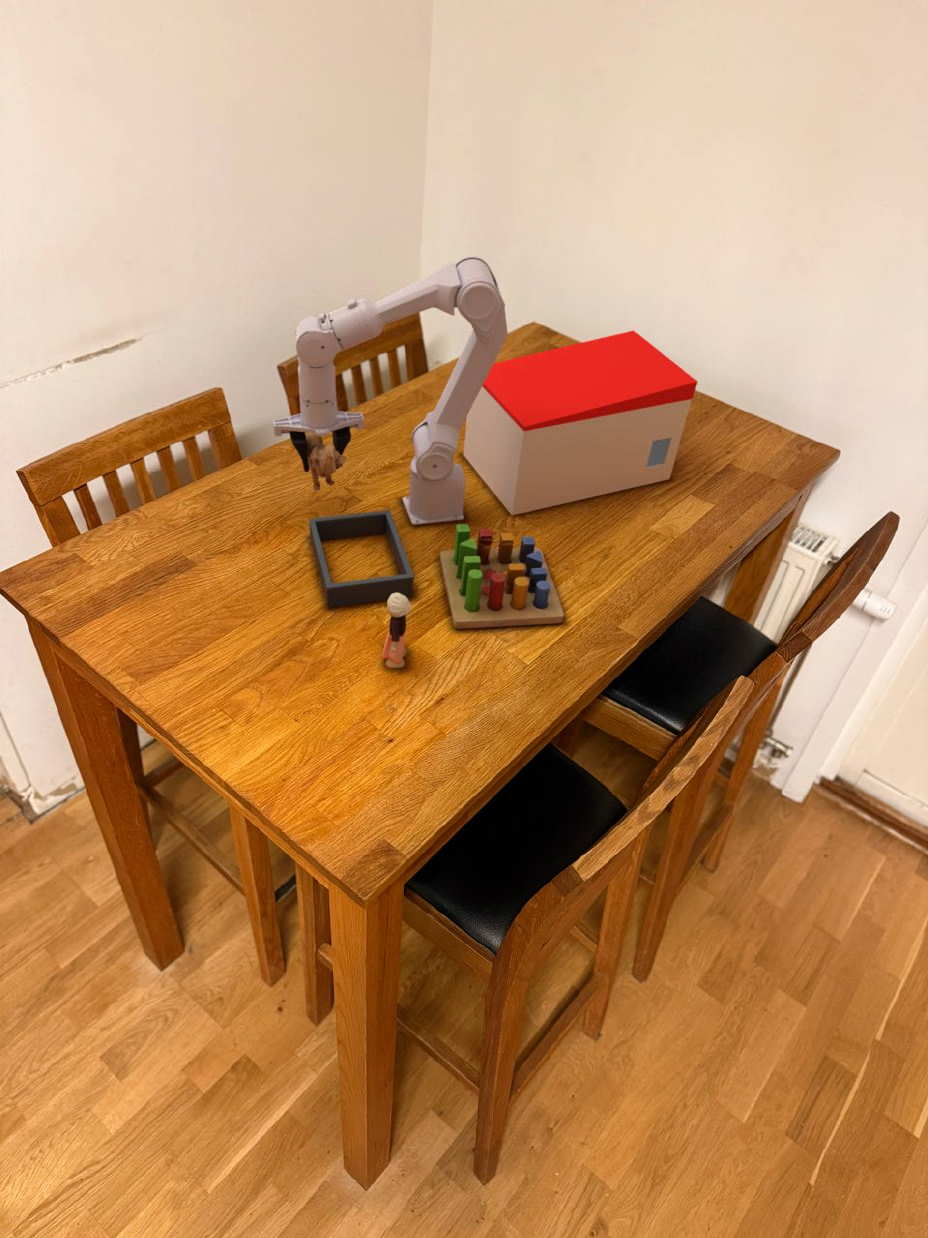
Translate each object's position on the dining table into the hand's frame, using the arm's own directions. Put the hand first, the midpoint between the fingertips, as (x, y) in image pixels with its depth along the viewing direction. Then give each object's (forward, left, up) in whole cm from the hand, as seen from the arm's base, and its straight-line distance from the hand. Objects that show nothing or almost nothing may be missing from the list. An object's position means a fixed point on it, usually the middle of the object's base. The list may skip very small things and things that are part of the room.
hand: (320, 467), depth 149 cm
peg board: (-25, +26, -10) cm, 37 cm away
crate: (-4, +16, -9) cm, 19 cm away
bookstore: (-49, -6, -10) cm, 50 cm away
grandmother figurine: (-5, +38, -10) cm, 39 cm away
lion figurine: (0, 0, -2) cm, 2 cm away
